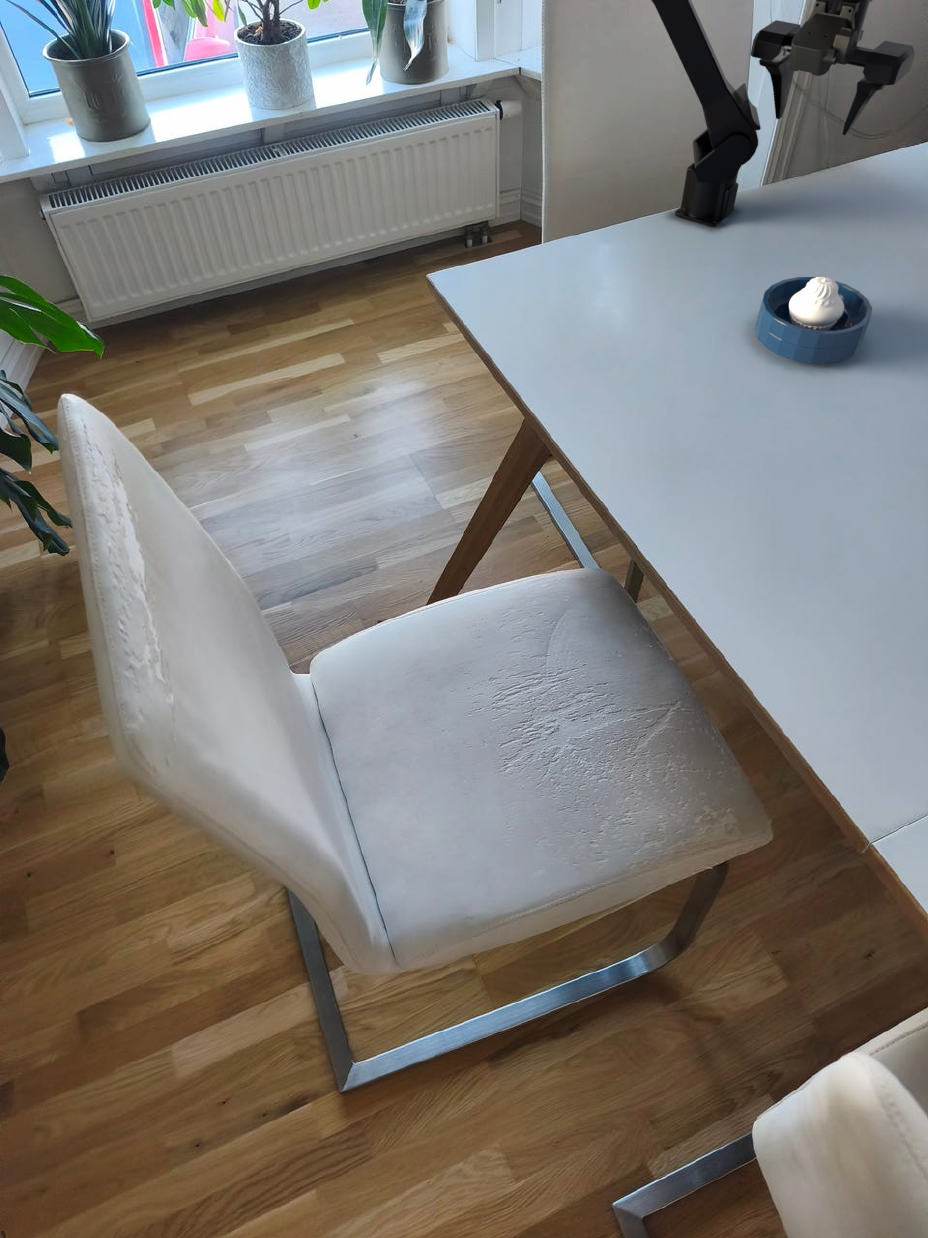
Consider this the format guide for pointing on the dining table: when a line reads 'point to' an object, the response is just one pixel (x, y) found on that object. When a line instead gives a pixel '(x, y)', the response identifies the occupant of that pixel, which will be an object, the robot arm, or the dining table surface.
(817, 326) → the muffin
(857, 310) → the bowl
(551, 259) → the dining table surface
